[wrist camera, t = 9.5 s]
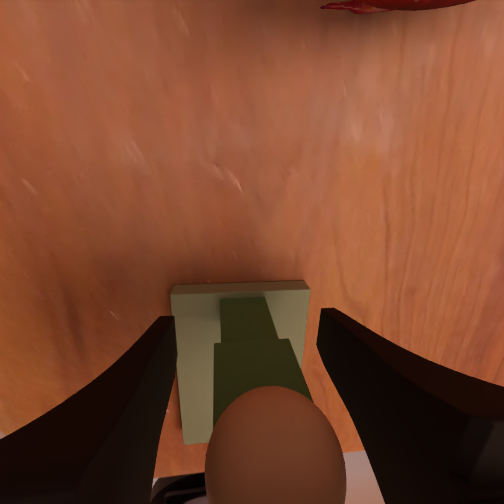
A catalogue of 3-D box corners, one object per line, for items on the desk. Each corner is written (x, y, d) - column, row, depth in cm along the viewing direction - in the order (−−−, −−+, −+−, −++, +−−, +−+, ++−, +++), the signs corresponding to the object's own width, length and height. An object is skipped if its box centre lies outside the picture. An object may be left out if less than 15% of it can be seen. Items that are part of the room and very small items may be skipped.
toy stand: (289, 417, 20) (293, 433, 19) (185, 428, 19) (183, 445, 18) (304, 280, 16) (310, 289, 15) (173, 284, 15) (169, 294, 14)
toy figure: (359, 586, 6) (395, 497, 5) (204, 617, 6) (197, 527, 4) (272, 319, 16) (276, 264, 14) (211, 322, 15) (209, 266, 14)
